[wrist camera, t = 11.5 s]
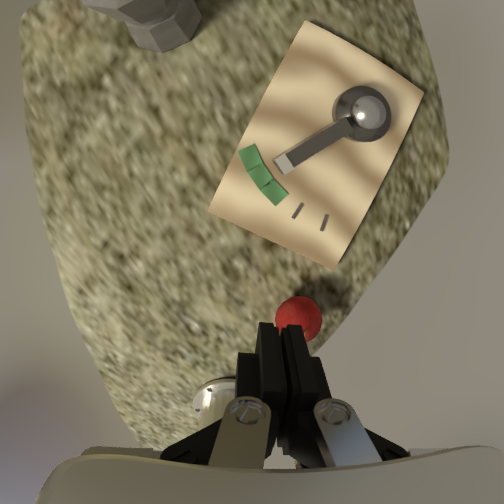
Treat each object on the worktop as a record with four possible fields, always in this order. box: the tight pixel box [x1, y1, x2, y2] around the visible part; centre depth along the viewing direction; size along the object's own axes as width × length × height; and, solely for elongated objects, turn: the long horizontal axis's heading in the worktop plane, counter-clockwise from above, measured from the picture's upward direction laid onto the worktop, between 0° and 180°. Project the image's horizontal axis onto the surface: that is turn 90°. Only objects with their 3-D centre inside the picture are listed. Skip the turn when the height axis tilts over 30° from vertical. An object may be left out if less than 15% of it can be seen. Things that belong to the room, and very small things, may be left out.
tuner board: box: [207, 20, 424, 270], centre depth 34 cm, size 26×17×2 cm, turn 154°
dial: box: [272, 86, 391, 175], centre depth 31 cm, size 15×6×4 cm, turn 124°
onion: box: [275, 296, 322, 343], centre depth 38 cm, size 6×6×8 cm
